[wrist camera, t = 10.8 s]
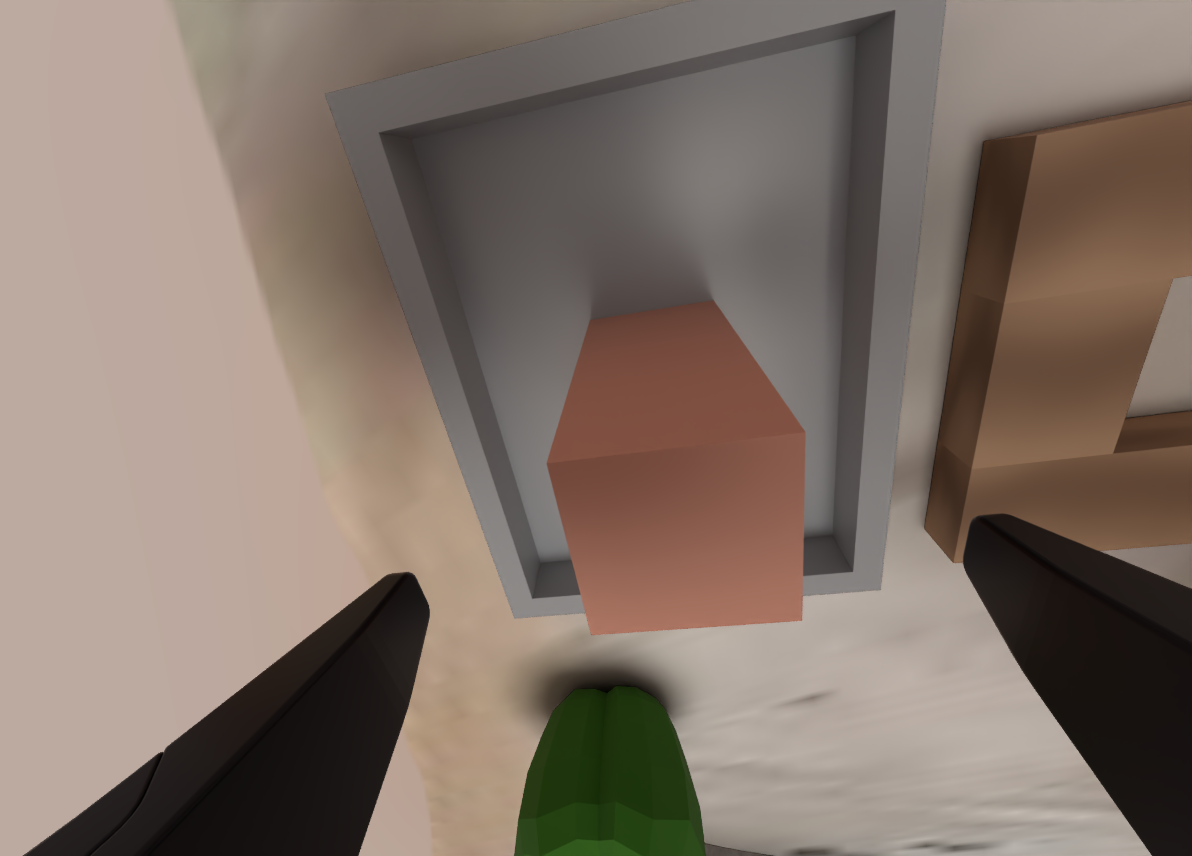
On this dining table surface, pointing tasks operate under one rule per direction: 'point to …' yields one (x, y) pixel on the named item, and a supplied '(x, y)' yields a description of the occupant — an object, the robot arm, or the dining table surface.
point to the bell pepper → (609, 782)
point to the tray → (662, 239)
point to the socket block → (1069, 337)
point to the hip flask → (727, 851)
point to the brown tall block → (679, 477)
